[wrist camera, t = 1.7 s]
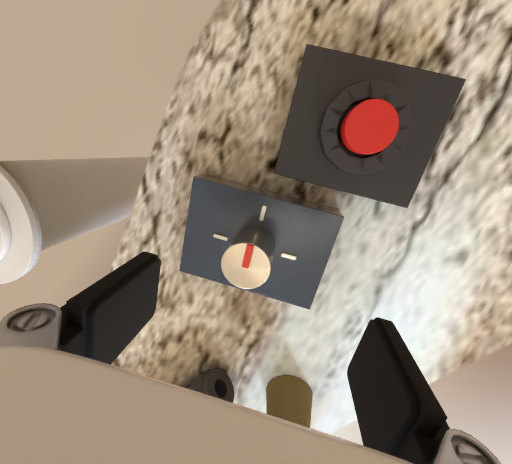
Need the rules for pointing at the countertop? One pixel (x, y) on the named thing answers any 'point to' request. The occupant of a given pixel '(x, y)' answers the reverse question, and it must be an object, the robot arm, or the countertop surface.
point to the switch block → (345, 99)
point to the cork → (289, 399)
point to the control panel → (270, 219)
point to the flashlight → (214, 385)
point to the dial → (249, 258)
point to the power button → (369, 127)
